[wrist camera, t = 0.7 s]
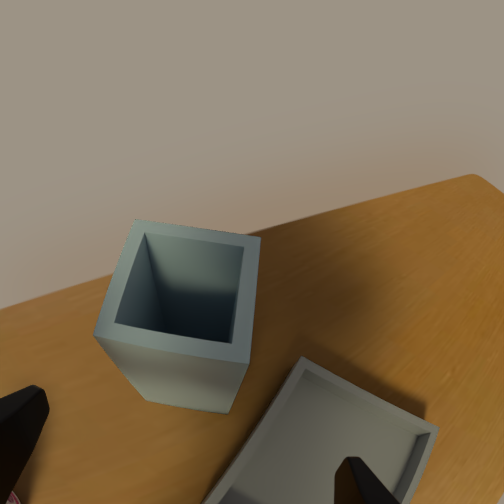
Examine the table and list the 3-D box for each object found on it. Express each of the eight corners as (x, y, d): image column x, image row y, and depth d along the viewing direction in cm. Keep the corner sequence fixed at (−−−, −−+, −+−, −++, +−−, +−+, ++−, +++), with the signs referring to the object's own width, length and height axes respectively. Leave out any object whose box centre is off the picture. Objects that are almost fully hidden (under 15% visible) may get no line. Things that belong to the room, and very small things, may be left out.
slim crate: (228, 414, 21) (249, 363, 11) (146, 400, 21) (92, 335, 11) (236, 340, 25) (260, 237, 15) (161, 328, 24) (135, 219, 15)
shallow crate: (353, 568, 14) (367, 576, 12) (199, 505, 17) (198, 510, 15) (422, 432, 21) (439, 427, 19) (292, 366, 24) (301, 355, 22)
